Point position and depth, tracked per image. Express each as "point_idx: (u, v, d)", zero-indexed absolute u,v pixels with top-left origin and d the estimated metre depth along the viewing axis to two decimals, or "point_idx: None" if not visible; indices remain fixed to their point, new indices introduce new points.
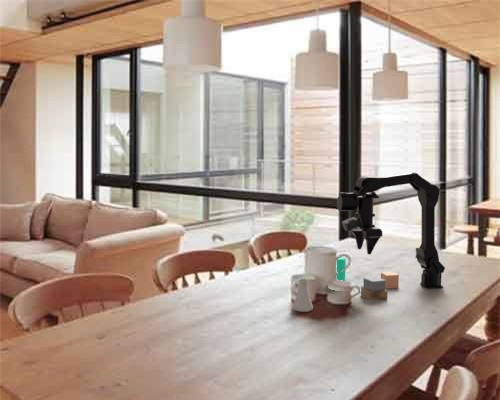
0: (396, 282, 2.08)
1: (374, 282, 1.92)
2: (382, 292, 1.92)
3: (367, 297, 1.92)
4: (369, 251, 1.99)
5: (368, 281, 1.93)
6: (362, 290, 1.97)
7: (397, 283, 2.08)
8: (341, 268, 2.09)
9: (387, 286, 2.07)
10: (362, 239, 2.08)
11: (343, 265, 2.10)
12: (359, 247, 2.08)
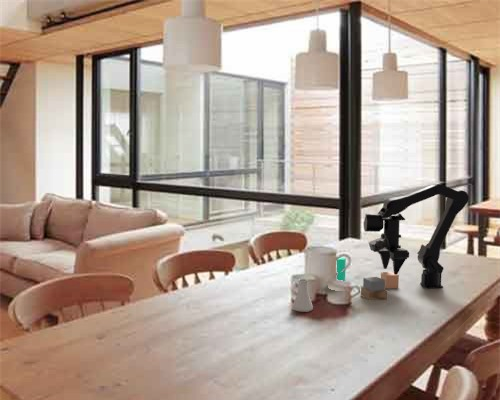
0: (396, 282, 2.08)
1: (373, 282, 1.92)
2: (382, 292, 1.92)
3: (367, 297, 1.92)
4: (395, 271, 2.05)
5: (367, 281, 1.93)
6: (362, 290, 1.97)
7: (397, 283, 2.08)
8: (341, 268, 2.09)
9: (387, 286, 2.07)
10: (388, 259, 2.14)
11: (343, 265, 2.10)
12: (385, 267, 2.14)
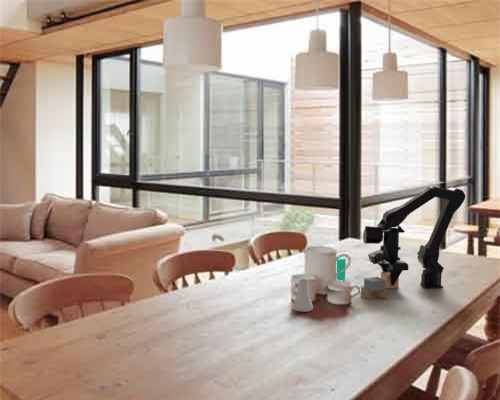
0: (396, 282, 2.08)
1: (374, 282, 1.91)
2: (382, 292, 1.92)
3: (367, 297, 1.93)
4: (392, 282, 2.07)
5: (368, 281, 1.93)
6: (362, 290, 1.97)
7: (397, 283, 2.08)
8: (341, 268, 2.09)
9: (387, 286, 2.07)
10: None
11: (343, 265, 2.10)
12: None
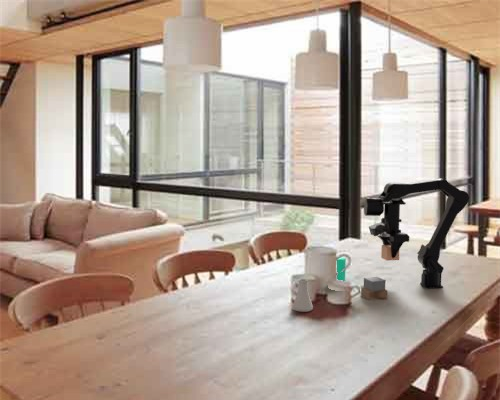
0: (397, 254, 2.07)
1: (374, 282, 1.92)
2: (382, 292, 1.92)
3: (367, 297, 1.93)
4: (393, 254, 2.06)
5: (368, 281, 1.94)
6: (362, 290, 1.97)
7: (398, 255, 2.07)
8: (341, 268, 2.09)
9: (388, 258, 2.06)
10: None
11: (343, 265, 2.10)
12: None
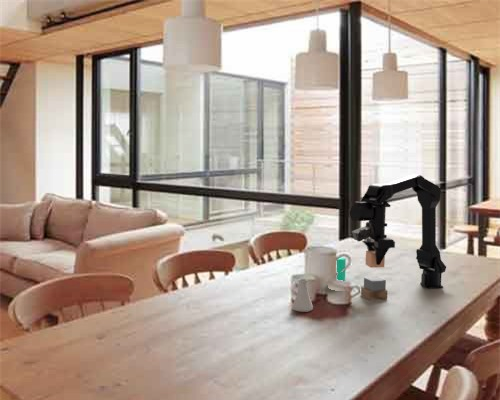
0: (382, 261, 1.93)
1: (374, 282, 1.92)
2: (382, 292, 1.92)
3: (367, 297, 1.93)
4: (378, 261, 1.92)
5: (368, 281, 1.94)
6: (362, 290, 1.97)
7: (383, 262, 1.93)
8: (341, 268, 2.09)
9: (372, 265, 1.92)
10: (375, 251, 1.97)
11: (343, 265, 2.10)
12: None
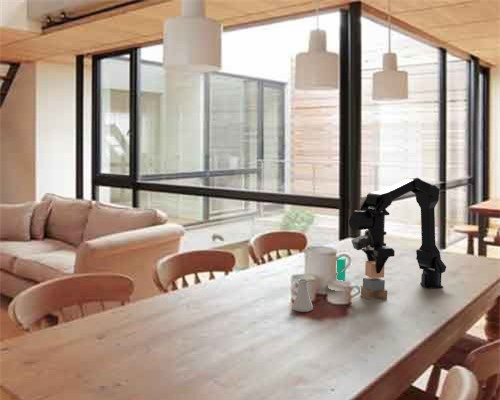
0: (382, 272, 1.92)
1: (373, 282, 1.92)
2: (382, 292, 1.93)
3: (367, 297, 1.93)
4: (378, 270, 1.91)
5: (367, 281, 1.94)
6: (362, 289, 1.97)
7: (383, 272, 1.92)
8: (341, 268, 2.09)
9: (372, 276, 1.92)
10: (374, 259, 1.97)
11: (343, 265, 2.10)
12: None
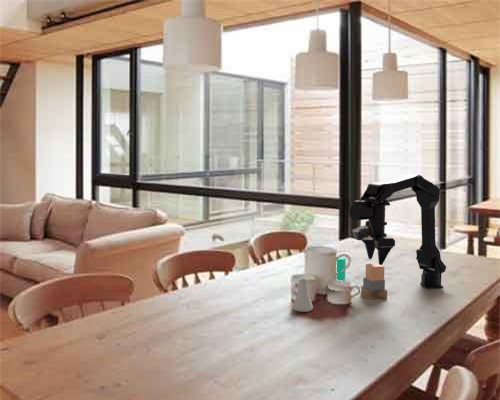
0: (382, 274, 1.93)
1: (373, 282, 1.92)
2: (382, 291, 1.93)
3: (367, 296, 1.93)
4: (380, 261, 1.89)
5: (367, 280, 1.94)
6: (362, 289, 1.98)
7: (383, 275, 1.93)
8: (341, 268, 2.09)
9: (372, 278, 1.92)
10: (373, 248, 1.99)
11: (343, 265, 2.10)
12: (370, 257, 1.98)
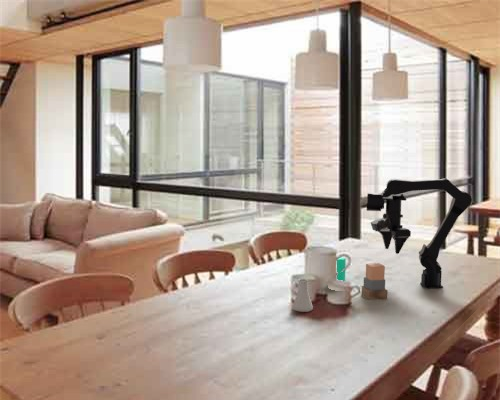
0: (382, 274, 1.93)
1: (373, 281, 1.92)
2: (382, 292, 1.93)
3: (367, 296, 1.93)
4: (397, 250, 2.07)
5: (368, 280, 1.94)
6: (362, 289, 1.98)
7: (383, 275, 1.93)
8: (341, 268, 2.09)
9: (372, 278, 1.93)
10: (389, 239, 2.17)
11: (343, 265, 2.10)
12: (386, 247, 2.16)
